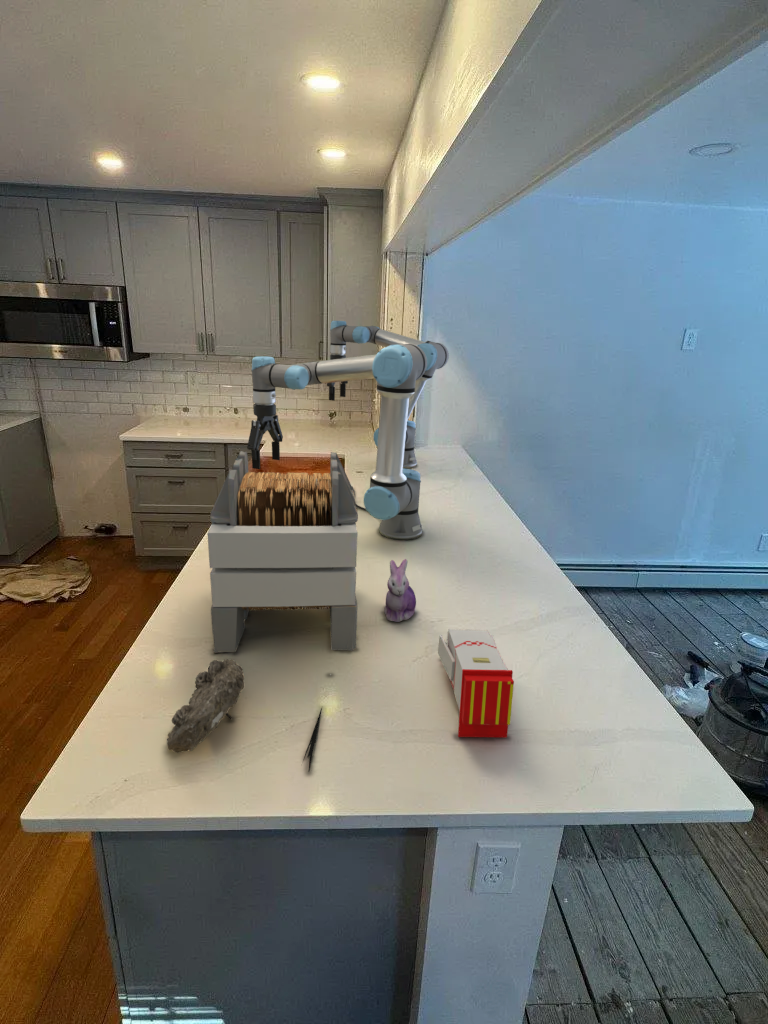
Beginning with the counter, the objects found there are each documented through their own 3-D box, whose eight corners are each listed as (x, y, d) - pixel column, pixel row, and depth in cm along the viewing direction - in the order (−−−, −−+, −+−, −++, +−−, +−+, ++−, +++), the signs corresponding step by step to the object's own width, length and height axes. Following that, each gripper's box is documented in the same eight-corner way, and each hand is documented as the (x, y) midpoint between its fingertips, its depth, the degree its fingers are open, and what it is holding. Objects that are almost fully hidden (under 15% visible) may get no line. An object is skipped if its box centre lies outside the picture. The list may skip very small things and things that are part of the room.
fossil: (192, 660, 117) (244, 628, 112) (224, 691, 120) (276, 661, 115) (142, 746, 98) (202, 712, 93) (182, 779, 101) (242, 748, 96)
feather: (331, 679, 122) (336, 673, 122) (307, 777, 96) (313, 769, 95) (324, 675, 122) (329, 669, 121) (298, 772, 95) (304, 764, 95)
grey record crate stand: (232, 584, 158) (225, 442, 144) (349, 583, 162) (353, 444, 148) (211, 655, 127) (198, 480, 113) (357, 651, 130) (362, 482, 117)
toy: (488, 613, 130) (523, 677, 101) (484, 667, 133) (517, 744, 104) (435, 612, 130) (455, 676, 101) (432, 666, 133) (451, 743, 103)
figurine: (392, 627, 141) (395, 572, 136) (374, 608, 149) (376, 556, 144) (425, 619, 145) (429, 566, 140) (405, 601, 154) (408, 550, 149)
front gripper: (254, 409, 181) (257, 473, 188) (291, 399, 203) (292, 457, 210) (234, 407, 183) (237, 471, 190) (273, 397, 205) (274, 454, 212)
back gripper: (334, 356, 262) (334, 402, 269) (354, 353, 284) (353, 396, 291) (320, 355, 264) (319, 401, 271) (341, 352, 286) (340, 394, 293)
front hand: (266, 464), depth 200 cm, fingers open, 13 cm apart
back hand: (337, 398), depth 281 cm, fingers open, 13 cm apart
